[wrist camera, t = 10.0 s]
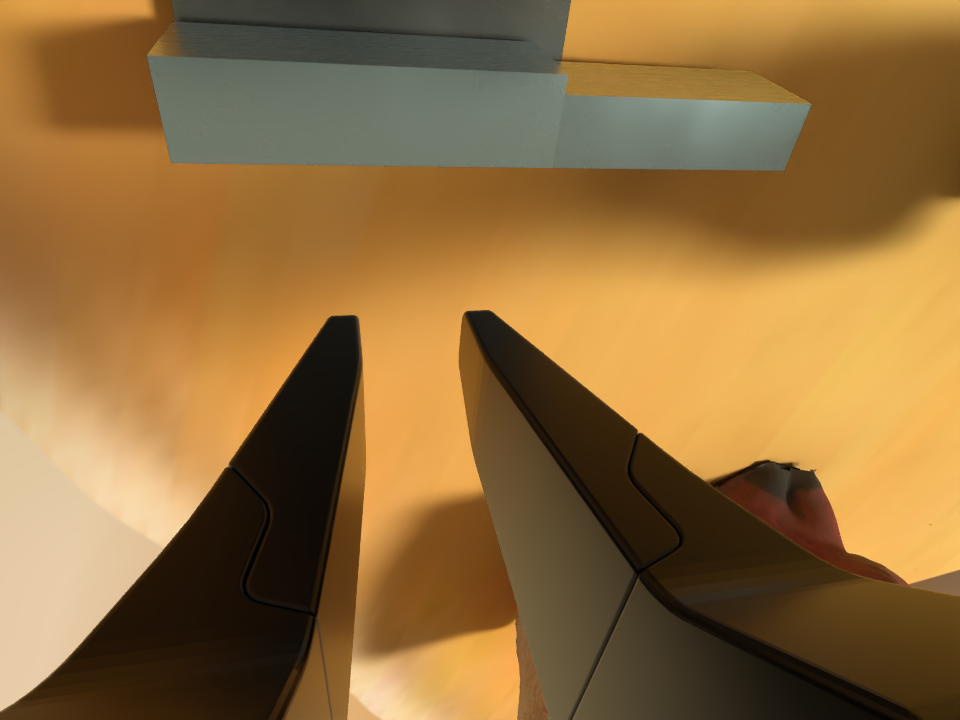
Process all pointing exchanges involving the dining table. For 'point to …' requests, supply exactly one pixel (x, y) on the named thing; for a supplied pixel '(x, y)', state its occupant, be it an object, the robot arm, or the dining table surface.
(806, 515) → the stuffed fox
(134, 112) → the dining table surface
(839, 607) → the robot arm
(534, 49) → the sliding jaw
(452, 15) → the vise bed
